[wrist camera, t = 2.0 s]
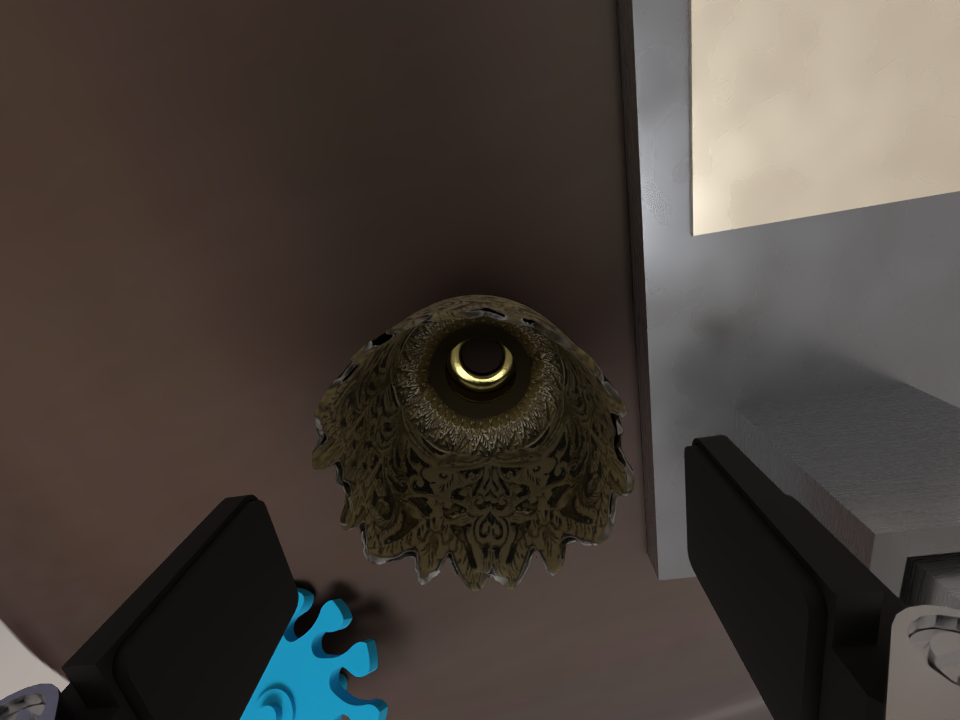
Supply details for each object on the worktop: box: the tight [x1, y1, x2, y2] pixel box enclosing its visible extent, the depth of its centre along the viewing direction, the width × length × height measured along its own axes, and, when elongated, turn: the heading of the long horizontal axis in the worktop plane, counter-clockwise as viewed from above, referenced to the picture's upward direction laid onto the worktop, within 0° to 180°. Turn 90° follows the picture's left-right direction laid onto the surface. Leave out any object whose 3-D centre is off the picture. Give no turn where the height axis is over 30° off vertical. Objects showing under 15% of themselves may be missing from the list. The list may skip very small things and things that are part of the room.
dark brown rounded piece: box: [312, 295, 634, 591], centre depth 14 cm, size 8×7×8 cm
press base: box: [617, 0, 960, 598], centre depth 12 cm, size 26×12×8 cm, turn 10°
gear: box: [240, 588, 388, 720], centre depth 22 cm, size 11×6×10 cm
